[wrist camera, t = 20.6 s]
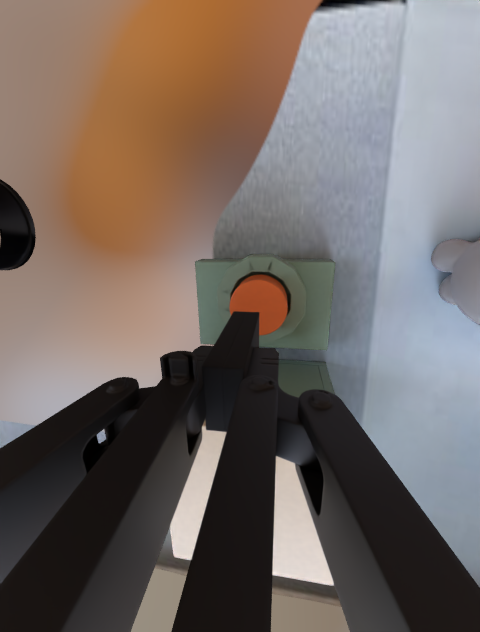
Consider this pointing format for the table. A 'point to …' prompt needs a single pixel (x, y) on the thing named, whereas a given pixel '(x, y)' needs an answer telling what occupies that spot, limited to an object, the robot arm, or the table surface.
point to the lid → (289, 516)
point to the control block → (301, 288)
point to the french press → (14, 229)
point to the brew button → (261, 301)
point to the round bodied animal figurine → (460, 275)
